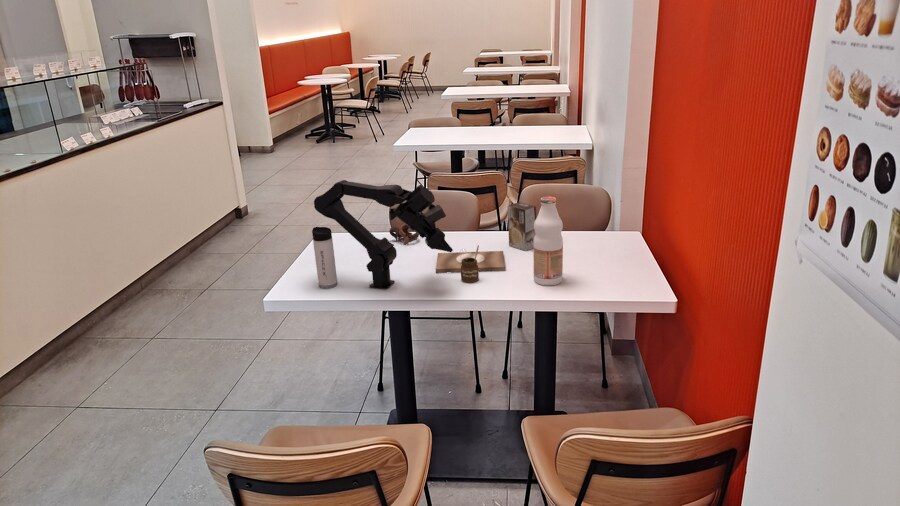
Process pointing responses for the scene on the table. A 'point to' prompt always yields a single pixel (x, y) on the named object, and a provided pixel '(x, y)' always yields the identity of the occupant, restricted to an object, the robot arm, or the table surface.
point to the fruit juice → (548, 244)
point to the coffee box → (521, 225)
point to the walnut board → (484, 259)
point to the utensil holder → (469, 269)
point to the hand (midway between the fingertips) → (448, 246)
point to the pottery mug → (403, 233)
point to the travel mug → (324, 257)
